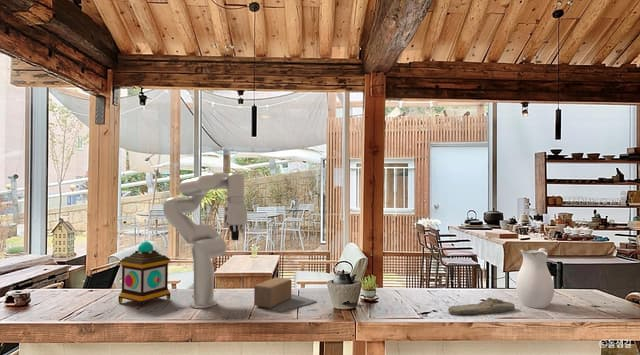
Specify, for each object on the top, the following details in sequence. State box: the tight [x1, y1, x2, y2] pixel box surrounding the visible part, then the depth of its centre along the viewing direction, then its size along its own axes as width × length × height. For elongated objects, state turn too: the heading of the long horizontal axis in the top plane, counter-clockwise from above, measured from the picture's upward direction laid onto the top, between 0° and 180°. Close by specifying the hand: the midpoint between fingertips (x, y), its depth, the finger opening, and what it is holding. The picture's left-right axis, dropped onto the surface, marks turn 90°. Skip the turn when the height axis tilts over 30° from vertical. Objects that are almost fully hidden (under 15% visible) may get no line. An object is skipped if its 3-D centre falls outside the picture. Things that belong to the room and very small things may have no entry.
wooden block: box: [253, 277, 292, 309], centre depth 205 cm, size 10×10×20 cm
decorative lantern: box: [117, 240, 171, 309], centre depth 206 cm, size 20×20×30 cm
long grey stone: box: [448, 297, 516, 316], centre depth 196 cm, size 35×5×10 cm
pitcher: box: [515, 247, 555, 309], centre depth 209 cm, size 24×17×28 cm
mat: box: [265, 293, 318, 313], centre depth 205 cm, size 18×24×1 cm
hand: (235, 239), depth 191 cm, fingers closed
